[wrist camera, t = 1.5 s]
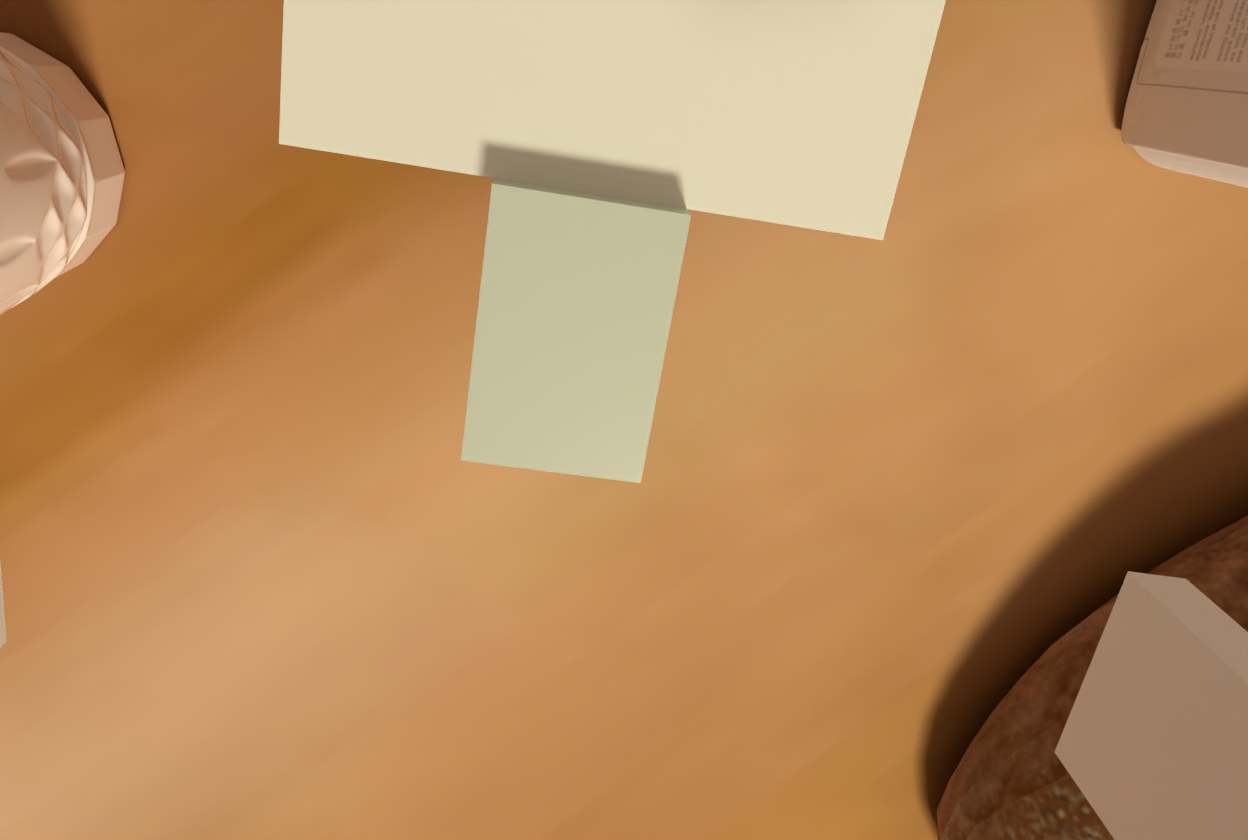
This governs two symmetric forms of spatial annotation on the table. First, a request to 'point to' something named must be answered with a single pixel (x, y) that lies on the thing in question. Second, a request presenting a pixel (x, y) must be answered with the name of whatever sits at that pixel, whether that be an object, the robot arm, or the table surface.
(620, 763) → the table surface
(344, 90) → the lid
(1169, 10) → the photo printer
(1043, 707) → the bread
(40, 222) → the white cup
